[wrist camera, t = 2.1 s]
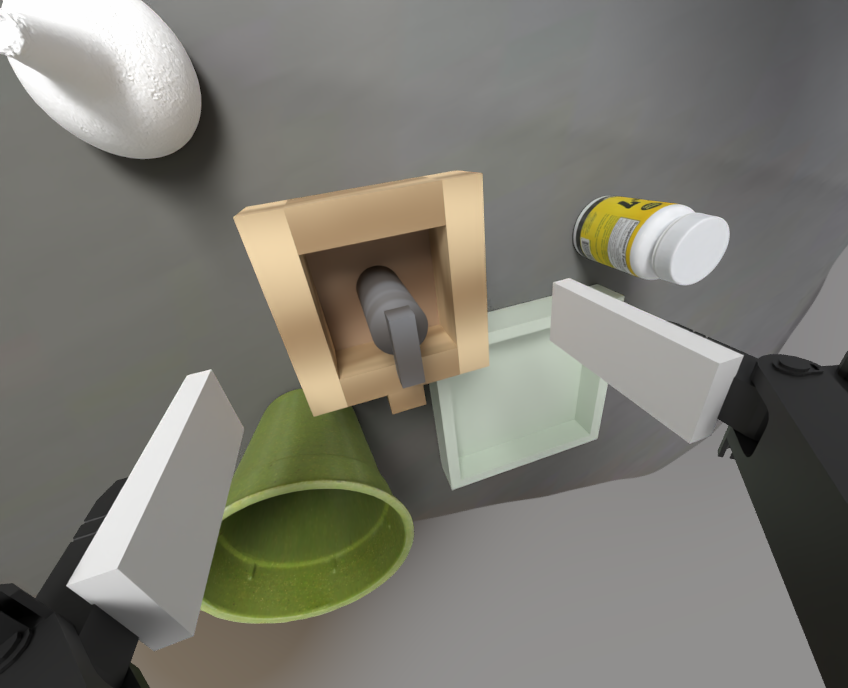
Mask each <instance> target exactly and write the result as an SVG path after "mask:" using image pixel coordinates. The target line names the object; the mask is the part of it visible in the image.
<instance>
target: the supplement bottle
mask: <svg viewBox="0 0 848 688" xmlns="http://www.w3.org/2000/svg"><path fill="white" fill-rule="evenodd" d="M729 237H730V232H729V226H728V224H727V222H726V221H725V220H724V219H722V218H720V217H717V216H711V215H706V214H703V213H695V212H694V211H693V210H692V209H691V208H689V207H687V206H684V205H680V204H675V203H667V202H657V201H650V200H642V199H636V198H627V197H620V196H603V197H600V198H597V199H595V200H594V201H592V202H591V203H590V204H588V205H587V206H586V207H585V208H584V210H583V211H582V212H581V214H580V215H579V217H578V219H577V222H576V225H575V228H574V234H573V241H574V245H575V248H576V250H577V251H578V253H579V254H581V255H582V256H583V257H585V258H588V259H590V260H593V261H596V262H599V263H602V264H604V265H607V266H610V267H613V268H615V269H618V270H621V271H623V272H626V273H629V274H631V275H634V276H636V277H639V278H643V279H647V280H655V279H662V280H665V281H669V282H672V283H675V284H678V285H691V284H694V283H696V282H698V281H700V280H701V279H703V278H704V277H706V276H707V275H708V274H709V273H710V272H711V271H712V270H713V269H714V268H715V267H716V265H717V264H718V263H719V261H720V260H721V258H722V257H723V255H724V253H725V251H726V248H727V246H728V242H729Z"/></svg>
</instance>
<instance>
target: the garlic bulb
mask: <svg viewBox="0 0 848 688" xmlns="http://www.w3.org/2000/svg"><path fill="white" fill-rule="evenodd" d="M0 54H3V55H6V56H7V57H8V60H9V62H10V64H11V66H12V68H13V70H14V72H15V73H16V76H17V77H18V79H19V80H20V82H21V83H22V85H23V86H24V88H25V89H26V91H27V92H28V93H29V95H30V96H31V97H32V98H33V100H34V101H35V102H36V103H37V104H38V105H39V106H40V107H41V108H42V109H43V110H44V111H45V112H46V113H47V114H48V115H49V116H50V117H51V118H52V119H53V120H55V121H56V122H57V123H58V124H59V125H61V126H62V127H63V128H65V129H66V130H67V131H69V132H70V133H72V134H73V135H75V136H76V137H78V138H80V139H81V140H83V141H85V142H87V143H89V144H90V145H92V146H95V147H97V148H99V149H101V150H104V151H106V152H109V153H112V154H115V155H119V156H124V157H128V158H135V159H151V158H159V157H163V156H166V155H169V154H172V153H174V152H176V151H177V150H178V149H180V148H182V147H183V146H184V145H185V144H186V143H187V142H188V141H189V140H190V139H191V137H192V135H193V134H194V132H195V130H196V128H197V125H198V123H199V119H200V114H201V92H200V86H199V82H198V78H197V75H196V72H195V70H194V67H193V65H192V63H191V60H190V58H189V56H188V54H187V53H186V51H185V49H184V47H183V46H182V44H181V43H180V41H179V40H178V38H177V37H176V35H175V34H174V33H173V31H172V30H171V29H170V28H169V27H168V25H167V24H166V23H165V22H164V21H163V20H162V19H161V18H160V17H159V16H158V15H157V14H156V13H155V12H154V11H153V10H152V9H151V8H150V7H148V6H147V5H146V4H145V3H144V2H143V1H141V0H4V1H3V4H2V8H0Z"/></svg>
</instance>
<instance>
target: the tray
mask: <svg viewBox="0 0 848 688" xmlns="http://www.w3.org/2000/svg"><path fill="white" fill-rule="evenodd" d="M588 287H591V288H593V289H595V290H597V291H600V292H602V293H604V294H606V295H609V296H611V297H613V298H615V299H618V300H620V301H622V302H624V297H625V296H624V295H621V294H619V293H617V292H615V291H612V290H610V289H608V288H606V287H603V286H601V285H599V284H595V285H591V286H588ZM551 310H552V296H549V297H545V298H541V299H537V300H533V301H529V302H526V303H522V304H518V305H514V306H510V307H506V308H502V309H498V310H495V311H491V312H487V315H488V342H489V366H488V367H484V368H481V369H477V370H474V371H470V372H467V373H463V374H460V375H456V376H453V377H450V378H446V379H443V380H439V381H436V382H432V383H429V387H430V394H431V400H432V407H433V413H434V419H435V426H436V432H437V439H438V445H439V452H440V458H441V465H442V468H443V470H444V472H445V475H446V477H447V480H448V482H449V484H450V487H451V489H452V490H454V489H457V488H460V487H462V486H465V485H468V484H471V483H474V482H477V481H479V480H482V479H485V478H488V477H491V476H494V475H496V474H499V473H502V472H505V471H508V470H511V469H513V468H516V467H519V466H522V465H525V464H528V463H531V462H533V461H536V460H539V459H542V458H545V457H548V456H550V455H553V454H556V453H559V452H562V451H565V450H567V449H570V448H573V447H576V446H579V445H582V444H584V443H587V442H590V441H593V440H596V439H597V438H598V433H599V428H600V423H601V417H602V412H603V407H604V402H605V396H606V391H607V386H608V383H607V382H605V381H604V380H603V379H601V378H600V377H599V376H597V375H596V374H595V373H593V372H592V371H591V370H589V369H588V368H587V367H585V366H584V365H582V364H581V363H580V362H578V361H577V360H576V359H574V358H573V357H572V356H570V355H569V354H568V353H566V352H565V351H563V350H562V349H561V348H559V347H558V346H557V345H555V344H554V343H553V342H551V341H550V326H551Z"/></svg>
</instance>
